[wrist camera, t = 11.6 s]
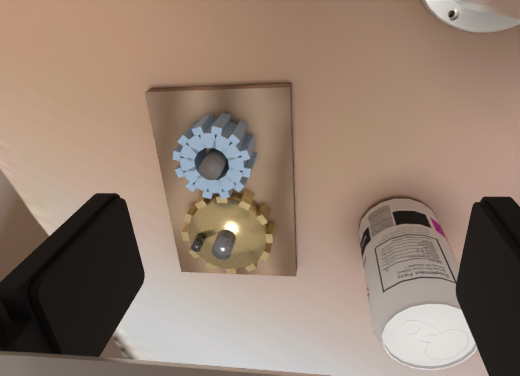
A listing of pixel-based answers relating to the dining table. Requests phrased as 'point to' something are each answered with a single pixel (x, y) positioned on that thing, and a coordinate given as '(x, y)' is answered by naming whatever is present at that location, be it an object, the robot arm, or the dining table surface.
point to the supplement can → (413, 286)
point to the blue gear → (225, 140)
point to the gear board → (265, 171)
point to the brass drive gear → (229, 231)
